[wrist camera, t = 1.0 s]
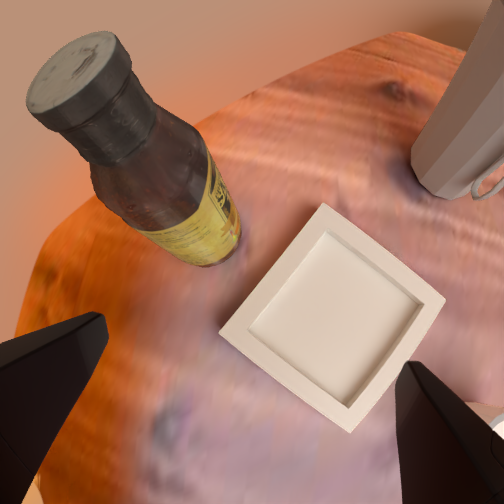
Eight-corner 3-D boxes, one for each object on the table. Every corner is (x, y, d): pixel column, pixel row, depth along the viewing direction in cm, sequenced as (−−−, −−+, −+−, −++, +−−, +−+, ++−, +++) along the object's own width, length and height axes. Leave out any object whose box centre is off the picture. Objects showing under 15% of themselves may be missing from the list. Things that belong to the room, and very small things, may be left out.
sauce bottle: (258, 238, 26) (196, 49, 7) (199, 284, 26) (19, 194, 7) (213, 184, 28) (117, -3, 9) (158, 227, 28) (-2, 92, 8)
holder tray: (345, 426, 22) (349, 433, 20) (222, 332, 25) (218, 332, 23) (436, 301, 24) (446, 299, 22) (320, 210, 26) (323, 202, 25)
